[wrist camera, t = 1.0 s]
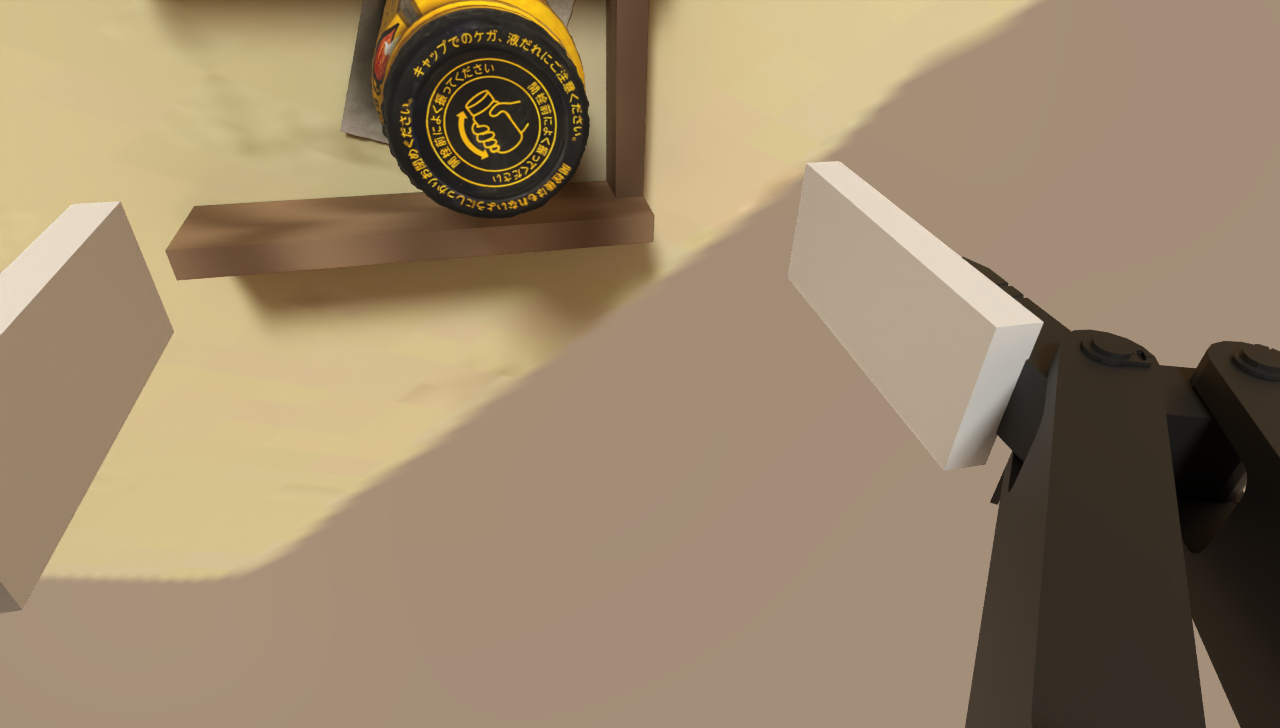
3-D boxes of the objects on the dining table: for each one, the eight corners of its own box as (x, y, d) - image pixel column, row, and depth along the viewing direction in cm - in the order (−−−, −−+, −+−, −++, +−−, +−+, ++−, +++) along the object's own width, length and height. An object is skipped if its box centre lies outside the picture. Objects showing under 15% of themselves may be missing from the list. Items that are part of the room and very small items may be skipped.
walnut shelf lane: (203, 233, 30) (176, 280, 26) (61, -174, 22) (-2, -177, 19) (632, 204, 33) (653, 242, 30) (639, -154, 26) (669, -154, 22)
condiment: (582, -27, 27) (662, 41, 18) (519, 179, 31) (558, 323, 22) (382, -110, 25) (352, -81, 15) (341, 128, 29) (297, 269, 19)
